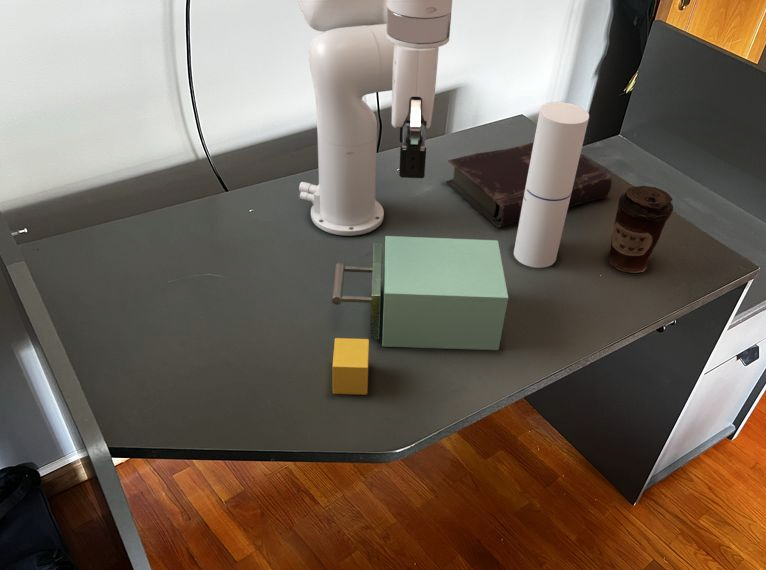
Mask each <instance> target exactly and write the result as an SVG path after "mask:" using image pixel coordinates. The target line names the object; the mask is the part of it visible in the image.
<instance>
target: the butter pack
mask: <svg viewBox="0 0 766 570" xmlns="http://www.w3.org/2000/svg"><path fill="white" fill-rule="evenodd" d="M333 347H334V348H333V356H332V367H331V368H332V394H333V395H363V396H367V395H368V388H369V387H368V386H369V385H368V384H369V357H370V354H369V353H370V339H369V338H347V337H345V338H344V337H335V338H334V345H333Z"/></svg>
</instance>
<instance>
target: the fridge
mask: <svg viewBox="0 0 766 570" xmlns="http://www.w3.org/2000/svg"><path fill="white" fill-rule="evenodd" d="M384 237H385V238H384V239H385V240H384V261H383V262H384V263H383V287H382V289H383V290H382V291H383V292H382V293H383V294H382V337H381V338H382V339H381V340H382V341H381V342H382V343H381V347H383V348H385V347H386V348H412V349H413V348H414V349H415V348H417V349H418V348H419V349H446V350H447V349H448V350H477V351H478V350H479V351H499V350H500V345H501V340H502V335H503V334H502V333H503V329H504V323H505V317H506V312H507V308H508V307H507V306H508V302H509V294H508V288H507V284H506V277H505V271H504V266H503V260H502V254H501V249H500V245H499V240H497V239H495V240H493V239H471V238H468V239H467V238H450V237H449V238H448V237H446V238H445V237H422V236H419V237H418V236H399V235H398V236H397V235H385V236H384Z"/></svg>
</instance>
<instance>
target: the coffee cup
mask: <svg viewBox="0 0 766 570" xmlns="http://www.w3.org/2000/svg"><path fill="white" fill-rule="evenodd" d="M672 201H673V198H672V196H671V195H670V194H669V193H668V192H666V191H665V190H663V189H661V188H658V187H655V186H649V185H640V186H639V185H638V186H634V185H633V186H630V187H628V188H627V189H626V191H625V192H624V193H622V194H621V195H620V196H619V198H618V204H617V208H616V209H617V211H616V213H615V219H614V224H613V230H612V233H611V241H610V250H609V253H608V261H609V264H610V265H611V266H613V267H614V268H615V269H617V270H619V271H622V272H625V273H631V274H638V273H644V272H645V271H646V269H648V261H649V258H650V257H651V255H652V253H653V250H654V248H656V247H657V244H658V242H659V240H660V237H661V234H662V232H663V229H664V228H665V226H666V223H667V221H668V220H669V219H670V217H671V216H672V214H673V211H674V205H673V203H672Z"/></svg>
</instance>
